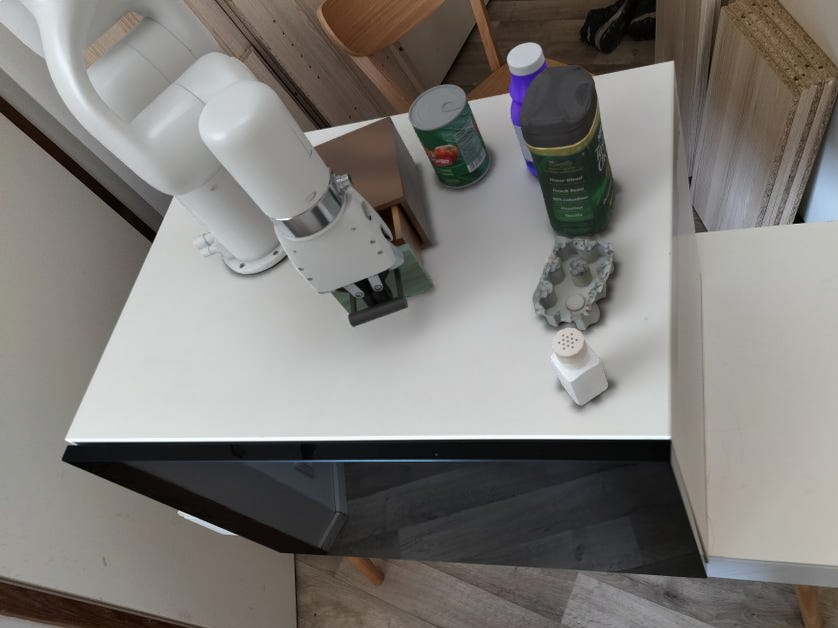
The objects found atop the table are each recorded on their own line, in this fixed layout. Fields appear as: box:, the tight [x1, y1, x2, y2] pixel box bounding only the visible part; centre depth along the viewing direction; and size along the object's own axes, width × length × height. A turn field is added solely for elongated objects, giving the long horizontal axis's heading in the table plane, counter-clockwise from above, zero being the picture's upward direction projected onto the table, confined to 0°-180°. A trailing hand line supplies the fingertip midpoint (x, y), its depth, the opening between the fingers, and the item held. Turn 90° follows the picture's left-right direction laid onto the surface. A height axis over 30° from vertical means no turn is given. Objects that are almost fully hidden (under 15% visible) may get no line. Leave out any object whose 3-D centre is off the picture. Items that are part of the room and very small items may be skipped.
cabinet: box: [313, 115, 433, 250], centre depth 91 cm, size 16×13×10 cm
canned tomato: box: [407, 84, 492, 190], centre depth 91 cm, size 8×8×11 cm
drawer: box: [330, 203, 435, 328], centre depth 85 cm, size 20×11×8 cm, turn 11°
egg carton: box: [532, 235, 615, 331], centre depth 77 cm, size 11×8×4 cm
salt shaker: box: [550, 327, 609, 406], centre depth 69 cm, size 4×4×10 cm
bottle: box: [506, 42, 549, 177], centre depth 83 cm, size 7×6×17 cm
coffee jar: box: [519, 64, 616, 237], centre depth 77 cm, size 10×8×19 cm
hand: (384, 304), depth 82 cm, fingers closed
